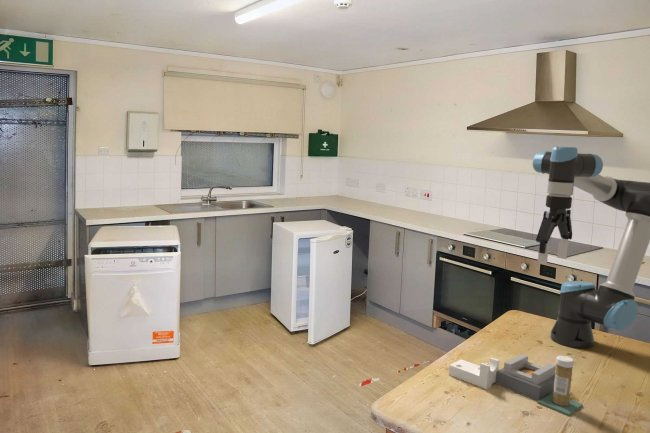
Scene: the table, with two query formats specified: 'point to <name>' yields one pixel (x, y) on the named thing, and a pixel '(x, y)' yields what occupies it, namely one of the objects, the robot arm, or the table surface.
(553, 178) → the robot arm
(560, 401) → the sprinkles bottle
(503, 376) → the grey square holder
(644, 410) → the table surface
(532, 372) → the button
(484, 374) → the bracket
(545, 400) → the mat
